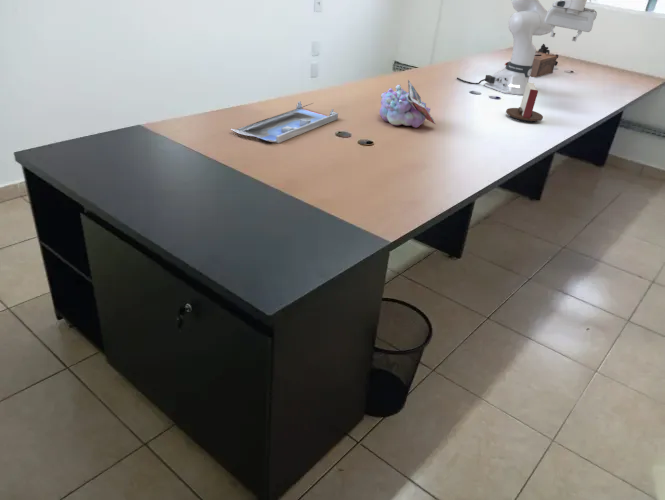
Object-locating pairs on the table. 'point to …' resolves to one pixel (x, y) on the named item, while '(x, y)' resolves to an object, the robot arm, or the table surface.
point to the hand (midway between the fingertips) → (562, 39)
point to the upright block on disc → (526, 105)
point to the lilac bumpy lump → (404, 107)
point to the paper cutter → (287, 124)
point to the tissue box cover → (543, 64)
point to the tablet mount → (546, 51)
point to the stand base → (523, 120)
